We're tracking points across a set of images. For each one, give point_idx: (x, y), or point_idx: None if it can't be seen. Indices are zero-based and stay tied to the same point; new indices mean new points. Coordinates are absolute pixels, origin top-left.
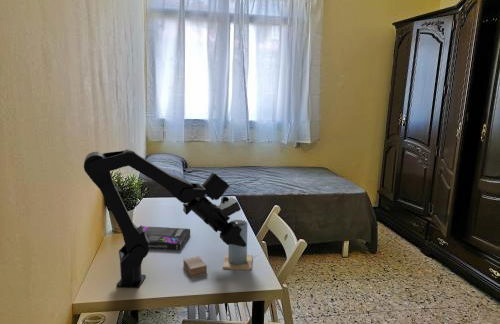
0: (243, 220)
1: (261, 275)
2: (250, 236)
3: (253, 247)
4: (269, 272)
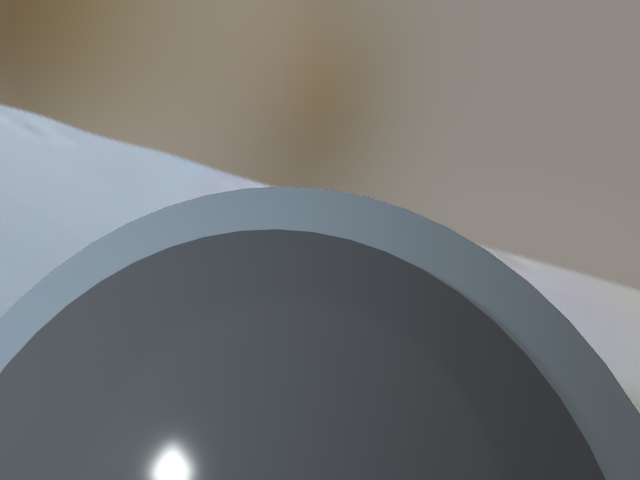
0: (143, 220)
1: (617, 357)
2: (37, 124)
3: (185, 184)
4: (588, 278)
